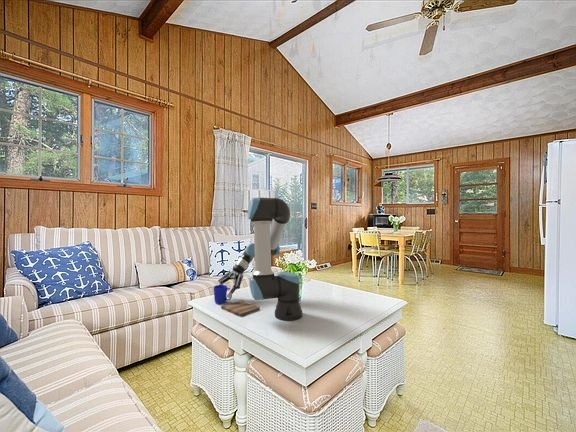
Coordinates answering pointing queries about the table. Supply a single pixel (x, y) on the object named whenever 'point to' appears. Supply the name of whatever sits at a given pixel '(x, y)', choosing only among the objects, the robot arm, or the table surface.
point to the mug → (221, 294)
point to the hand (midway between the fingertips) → (221, 294)
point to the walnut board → (240, 308)
